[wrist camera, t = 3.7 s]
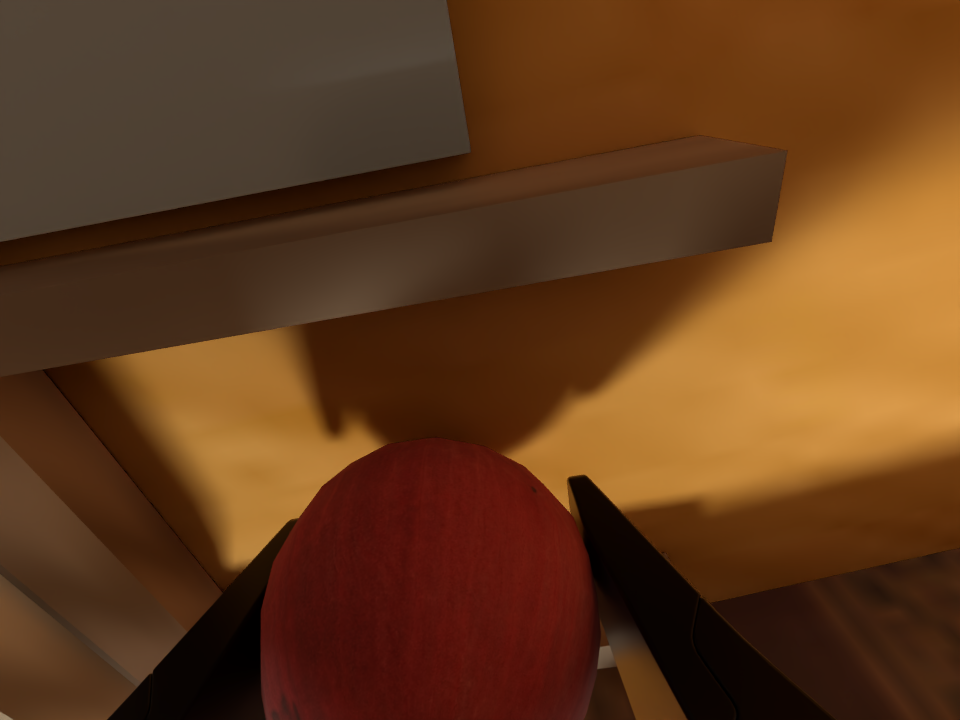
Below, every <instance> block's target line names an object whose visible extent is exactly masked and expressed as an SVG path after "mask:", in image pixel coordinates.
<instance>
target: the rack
mask: <svg viewBox="0 0 960 720" xmlns="http://www.w3.org/2000/svg"><path fill="white" fill-rule="evenodd" d="M786 156H787V150H782V149H776V148H770V147H764V146H759V145H753V144H747V143H742V142H736V141H730V140H724V139H719V138H713V137H707V136H701V135H699V136H693V137H688V138H682V139H677V140H672V141H666V142H661V143H656V144H650V145H645V146H640V147H634V148H629V149H624V150H618V151H613V152H608V153H602V154H597V155H592V156H586V157H581V158H576V159H570V160H565V161H560V162H554V163H549V164H544V165H538V166H533V167H528V168H522V169H517V170H512V171H506V172H501V173H496V174H490V175H485V176H480V177H474V178H469V179H464V180H458V181H453V182H448V183H442V184H437V185H432V186H426V187H421V188H416V189H410V190H405V191H400V192H394V193H389V194H384V195H378V196H373V197H368V198H362V199H357V200H351V201H346V202H341V203H335V204H330V205H325V206H319V207H314V208H309V209H303V210H298V211H293V212H287V213H282V214H277V215H271V216H266V217H261V218H255V219H250V220H245V221H239V222H234V223H229V224H223V225H218V226H213V227H207V228H202V229H197V230H191V231H186V232H181V233H175V234H170V235H165V236H159V237H154V238H149V239H143V240H138V241H133V242H127V243H122V244H117V245H111V246H106V247H101V248H95V249H90V250H85V251H79V252H74V253H69V254H63V255H58V256H53V257H47V258H42V259H37V260H31V261H26V262H21V263H15V264H10V265H4V266H0V377H2V376H8V375H14V374H20V373H25V372H31V371H37V370H42V369H48V368H54V367H59V366H65V365H71V364H77V363H82V362H88V361H94V360H99V359H105V358H111V357H117V356H122V355H128V354H134V353H139V352H145V351H151V350H156V349H162V348H168V347H174V346H179V345H185V344H191V343H196V342H202V341H208V340H214V339H219V338H225V337H231V336H236V335H242V334H248V333H253V332H259V331H265V330H271V329H276V328H282V327H288V326H293V325H299V324H305V323H311V322H316V321H322V320H328V319H333V318H339V317H345V316H350V315H356V314H362V313H368V312H373V311H379V310H385V309H390V308H396V307H402V306H408V305H413V304H419V303H425V302H430V301H436V300H442V299H447V298H453V297H459V296H465V295H470V294H476V293H482V292H487V291H493V290H499V289H505V288H510V287H516V286H522V285H527V284H533V283H539V282H544V281H550V280H556V279H562V278H567V277H573V276H579V275H584V274H590V273H596V272H602V271H607V270H613V269H619V268H624V267H630V266H636V265H641V264H647V263H653V262H659V261H664V260H670V259H676V258H681V257H687V256H693V255H699V254H704V253H710V252H716V251H721V250H727V249H733V248H738V247H744V246H750V245H756V244H761V243H767V242H772V236H773V231H774V225H775V219H776V213H777V208H778V202H779V196H780V191H781V185H782V179H783V174H784V168H785V162H786ZM661 554H662V555H663V556H664V557H665V558H666V559H667V560H668V561H669V562H670V560H669V558H668V555H667V553H661ZM670 563H671V562H670ZM599 618H600V617H599ZM600 627H601V641H600V650H599V659H598V668H597V669H602V668H610V667H617V665H616V662H615V659H614V656H613V653H612V651H611V648H610V645H609V642H608V639H607V636H606V634H605V631H604V628H603V625H602V622H601V620H600Z"/></svg>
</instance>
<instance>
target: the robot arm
mask: <svg viewBox="0 0 960 720" xmlns="http://www.w3.org/2000/svg"><path fill="white" fill-rule="evenodd" d="M567 485H568V496H569V506H570V511H571V515H572V516H573V517H574V520H575V522H576V525H577V527H578V530H579V532H580V535H581V537H582V540H583V542H584V545H585V547H586V550H587V553H588V555H589V559H590V564H591V568H592V573H593V577H594V582H595V586H596V592H597V601H598V609H599V617H600V620H601V622H602V625H603V628H604V631H605V634H606V636H607V639H608V642H609V645H610V648H611V651H612V653H613V656H614V659H615V662H616V665H617V667H618V670H619V673H620V676H621V679H622V682H623V684H624V687H625V690H626V693H627V696H628V698H629V701H630V704H631V707H632V710H633V713H634V715H635V718H636V720H837V719H836V718H834V717H833V716H832V715H831V714H830V713H829V712H827V711H826V710H825V709H824V708H823V707H822V706H821V705H819V704H818V703H817V702H816V701H815V700H814V699H813V698H811V697H810V696H809V695H808V694H807V693H806V692H804V691H803V690H802V689H801V688H800V687H799V686H798V685H796V684H795V683H794V682H793V681H792V680H791V679H789V678H788V677H787V676H786V675H785V674H784V673H783V672H781V671H780V670H779V669H778V668H777V667H776V666H775V665H773V664H772V663H771V662H770V661H769V660H768V659H767V658H766V657H765V656H763V655H762V654H761V653H760V652H759V651H758V650H757V649H756V648H755V647H753V646H752V645H751V644H750V643H749V642H748V641H747V640H746V639H745V638H744V637H743V636H742V635H740V634H739V633H738V632H737V631H736V630H735V629H734V628H733V627H732V626H731V625H730V624H729V623H728V622H727V621H726V620H725V619H724V618H723V617H722V616H721V615H720V614H719V613H718V612H717V611H716V610H715V608H714V607H713V606H712V605H711V604H710V603H709V602H708V601H707V600H706V599H705V598H704V597H701V598H700V593H699V592H698V591H697V590H696V589H695V588H694V587H693V586H692V585H691V584H690V583H689V582H688V581H687V580H686V579H685V577H684V576H683V575H682V574H681V573H680V572H679V571H678V570H677V569H676V568H675V567H674V566H673V565H672V564H671V563H670V562H669V561H668V560H667V559H666V558H665V557H664V556H663V555H662V554H661V552H660V551H659V550H658V549H657V548H656V547H655V546H654V545H653V544H652V543H651V542H650V541H649V540H648V539H647V538H646V537H645V536H644V535H643V534H642V533H641V532H640V531H639V530H638V529H637V527H636V526H635V525H634V524H633V523H632V522H631V521H630V520H629V519H628V518H627V517H626V516H625V515H624V514H623V513H622V512H621V511H620V510H619V509H618V508H617V507H616V506H615V505H614V504H613V503H612V501H611V500H610V499H609V498H608V497H607V496H606V495H605V494H604V493H603V492H602V491H601V490H600V489H599V488H598V487H597V486H596V485H595V484H594V483H593V482H592V481H591V480H590V479H589V478H588V477H587V476H586V475H578V476H571V477H569V478H568V479H567ZM298 519H299V518H297V519H292V520H290V521H288V522H287V523H286V524H285V525H284V527H283V528H282V529H281V530H280V531H279V532H278V533H277V534H276V535H275V536H274V538H273V539H272V540H271V541H270V542H269V543H268V544H267V545H266V546H265V547H264V548H263V550H262V551H261V552H260V553H259V554H258V555H257V556H256V557H255V558H254V559H253V561H252V562H251V563H250V564H249V565H248V566H247V567H246V568H245V569H244V570H243V572H242V573H241V574H240V575H239V576H238V577H237V578H236V579H235V580H234V581H233V583H232V584H231V585H230V586H229V587H228V588H227V589H226V590H225V591H224V592H223V594H222V595H221V596H220V597H219V598H218V599H217V600H216V601H215V602H214V603H213V605H212V606H211V607H210V608H209V609H208V610H207V611H206V612H205V613H204V614H203V616H202V617H201V618H200V619H199V620H198V621H197V622H196V623H195V624H194V625H193V626H192V628H191V629H190V630H189V631H188V632H187V633H186V634H185V635H184V636H183V637H182V639H181V640H180V641H179V642H178V643H177V644H176V645H175V646H174V647H173V648H172V650H171V651H170V652H169V653H168V654H167V655H166V656H165V657H164V658H163V659H162V661H161V662H160V663H159V664H158V665H157V666H156V667H155V668H154V670H153V674H152V673H151V674H149V675H148V676H147V677H146V678H145V679H144V680H143V681H142V682H141V683H140V685H139V686H138V687H137V688H136V689H135V690H134V691H133V692H132V693H131V694H130V695H129V697H128V698H127V699H126V700H125V701H124V702H123V703H122V704H121V705H120V706H119V707H118V708H117V709H116V710H115V711H114V712H113V714H112V715H111V716H110V717H109V718H108V719H107V720H266V718H265V712H264V707H263V701H262V696H261V608H262V604H263V600H264V596H265V592H266V588H267V584H268V580H269V576H270V573H271V569H272V565H273V561H274V560H275V558H276V556H277V555H278V553H279V551H280V549H281V548H282V546H283V544H284V543H285V541H286V539H287V537H288V536H289V534H290V532H291V530H292V529H293V527H294V525H295V524H296V522H297V520H298Z"/></svg>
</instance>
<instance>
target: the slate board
mask: <svg viewBox="0 0 960 720" xmlns="http://www.w3.org/2000/svg"><path fill="white" fill-rule="evenodd" d="M470 152H471V148H470V142H469V136H468V129H467V123H466V117H465V111H464V105H463V99H462V92H461V86H460V80H459V74H458V68H457V62H456V55H455V49H454V43H453V37H452V31H451V25H450V19H449V12H448V6H447V0H0V242H2V241H7V240H12V239H18V238H23V237H28V236H34V235H39V234H44V233H49V232H55V231H60V230H65V229H70V228H76V227H81V226H86V225H91V224H97V223H102V222H107V221H112V220H118V219H123V218H128V217H134V216H139V215H144V214H149V213H155V212H160V211H165V210H170V209H176V208H181V207H186V206H191V205H197V204H202V203H207V202H212V201H218V200H223V199H228V198H234V197H239V196H244V195H249V194H255V193H260V192H265V191H270V190H276V189H281V188H286V187H291V186H297V185H302V184H307V183H312V182H318V181H323V180H328V179H334V178H339V177H344V176H349V175H355V174H360V173H365V172H370V171H376V170H381V169H386V168H391V167H397V166H402V165H407V164H413V163H418V162H423V161H428V160H434V159H439V158H444V157H449V156H455V155H460V154H465V153H470Z"/></svg>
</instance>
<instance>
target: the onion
mask: <svg viewBox="0 0 960 720" xmlns="http://www.w3.org/2000/svg"><path fill="white" fill-rule="evenodd" d="M600 641H601V627H600V618H599V609H598V601H597V592H596V586H595V582H594V577H593V573H592V568H591V564H590V559H589V555H588V553H587V550H586V547H585V545H584V542H583V540H582V537H581V535H580V532H579V530H578V527H577V525H576V522H575V520H574V517H573V516H572V515H571V514H570V513H569V512H568V511H567V509H566V508H565V507H564V506H563V505H562V504H561V503H560V502H559V501H558V500H557V499H556V498H555V496H554V495H553V494H552V493H551V492H550V491H549V490H548V489H547V488H546V487H545V486H544V484H542V483H541V482H540V481H539V480H538V479H537V478H536V477H535V476H534V475H533V474H532V473H531V472H530V471H529V470H528V469H527V468H526V467H524V466H523V465H521V464H519V463H517V462H515V461H513V460H511V459H509V458H507V457H505V456H503V455H501V454H499V453H497V452H495V451H493V450H491V449H489V448H487V447H485V446H481V445H476V444H471V443H465V442H460V441H454V440H449V439H444V438H438V437H434V438H426V439H419V440H412V441H405V442H398V443H390V444H387V445H385V446H383V447H381V448H379V449H378V450H376V451H374V452H372V453H370V454H368V455H366V456H364V457H362V458H360V459H358V460H356V461H355V462H353V463H351V464H350V465H348V466H347V467H346V468H345V469H343V470H342V471H341V472H340V473H338V474H337V475H336V476H334V477H333V478H332V479H331V480H329V481H328V482H327V483H326V484H324V485H323V486H322V487H321V489H320V490H319V491H318V493H317V494H316V495H315V497H314V498H313V500H312V501H311V502H310V504H309V505H308V506H307V508H306V509H305V511H304V512H303V513H302V515H301V516H300V517H299V519H298V520H297V522H296V524H295V525H294V527H293V529H292V530H291V532H290V534H289V536H288V537H287V539H286V541H285V543H284V544H283V546H282V548H281V549H280V551H279V553H278V555H277V556H276V558H275V560H274V561H273V565H272V569H271V573H270V576H269V580H268V584H267V588H266V592H265V596H264V600H263V604H262V608H261V696H262V701H263V707H264V712H265V718H266V720H584V718H585V716H586V713H587V710H588V706H589V702H590V698H591V695H592V691H593V687H594V683H595V680H596V676H597V668H598V659H599V650H600Z"/></svg>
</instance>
